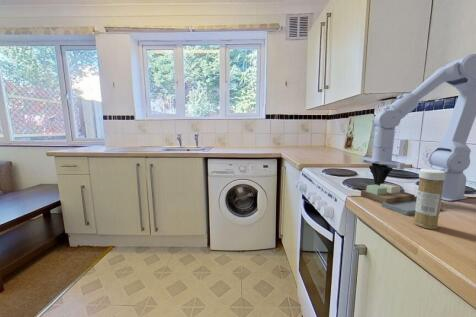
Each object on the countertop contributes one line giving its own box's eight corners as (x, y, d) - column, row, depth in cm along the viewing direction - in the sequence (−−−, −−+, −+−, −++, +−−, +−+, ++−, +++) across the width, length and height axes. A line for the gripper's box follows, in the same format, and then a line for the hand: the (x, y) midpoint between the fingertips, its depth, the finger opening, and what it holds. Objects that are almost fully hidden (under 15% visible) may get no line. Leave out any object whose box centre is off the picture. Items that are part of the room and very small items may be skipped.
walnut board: (386, 192, 79) (387, 187, 79) (413, 201, 71) (414, 194, 71) (360, 195, 76) (361, 190, 75) (385, 205, 67) (386, 198, 67)
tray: (414, 201, 71) (415, 197, 71) (441, 209, 64) (442, 205, 64) (381, 206, 66) (382, 202, 66) (406, 215, 60) (407, 211, 59)
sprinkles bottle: (440, 226, 53) (448, 170, 51) (433, 231, 51) (442, 173, 49) (416, 219, 57) (424, 167, 55) (409, 224, 54) (416, 169, 52)
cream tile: (388, 188, 77) (388, 183, 77) (399, 192, 74) (400, 186, 73) (379, 189, 76) (380, 184, 76) (391, 193, 72) (391, 187, 72)
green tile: (375, 190, 75) (375, 184, 75) (386, 193, 72) (387, 187, 71) (366, 191, 74) (366, 185, 74) (377, 195, 70) (377, 188, 70)
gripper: (356, 145, 82) (353, 181, 84) (395, 149, 68) (390, 193, 70) (370, 145, 84) (367, 180, 86) (411, 149, 71) (406, 191, 73)
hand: (378, 186), depth 79 cm, fingers closed
